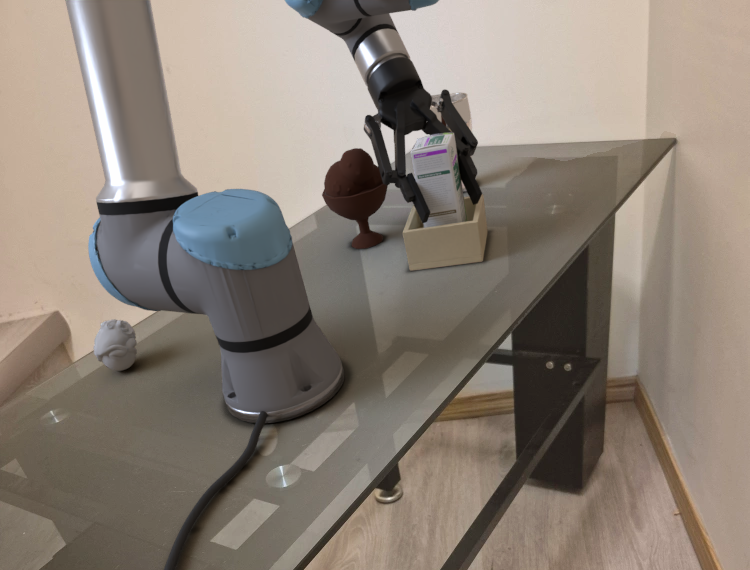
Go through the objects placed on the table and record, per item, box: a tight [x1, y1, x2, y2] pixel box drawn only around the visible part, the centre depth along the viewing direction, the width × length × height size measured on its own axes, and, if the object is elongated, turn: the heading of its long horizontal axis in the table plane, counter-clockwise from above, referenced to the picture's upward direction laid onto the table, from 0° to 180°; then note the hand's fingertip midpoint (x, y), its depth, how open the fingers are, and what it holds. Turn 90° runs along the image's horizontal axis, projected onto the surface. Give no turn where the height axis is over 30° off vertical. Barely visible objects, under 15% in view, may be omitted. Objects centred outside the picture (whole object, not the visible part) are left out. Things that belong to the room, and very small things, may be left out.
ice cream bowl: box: [321, 147, 389, 250], centre depth 120 cm, size 11×11×15 cm
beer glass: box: [430, 92, 477, 193], centre depth 131 cm, size 7×7×15 cm
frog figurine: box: [93, 318, 138, 372], centre depth 105 cm, size 6×7×7 cm
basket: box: [402, 193, 488, 272], centre depth 113 cm, size 11×11×6 cm
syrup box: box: [409, 132, 467, 228], centre depth 109 cm, size 6×6×14 cm
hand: (452, 208), depth 107 cm, fingers closed on syrup box, 8 cm apart
